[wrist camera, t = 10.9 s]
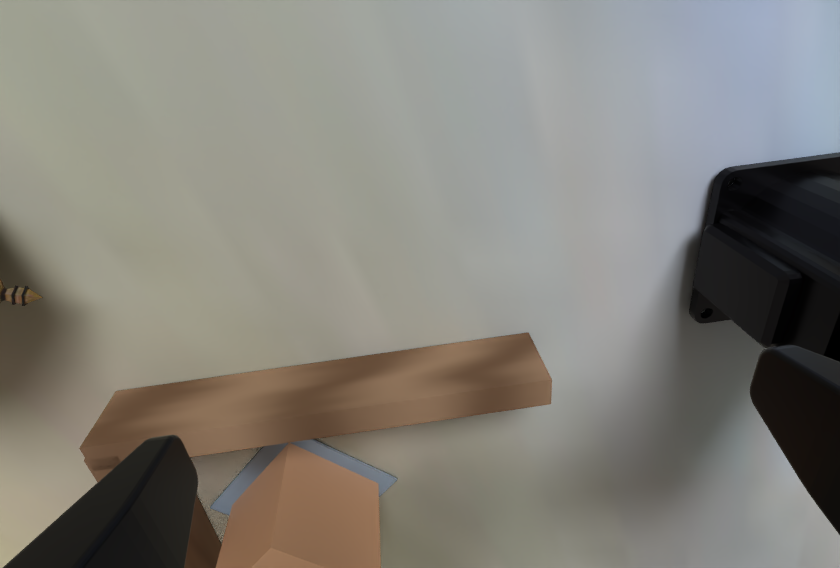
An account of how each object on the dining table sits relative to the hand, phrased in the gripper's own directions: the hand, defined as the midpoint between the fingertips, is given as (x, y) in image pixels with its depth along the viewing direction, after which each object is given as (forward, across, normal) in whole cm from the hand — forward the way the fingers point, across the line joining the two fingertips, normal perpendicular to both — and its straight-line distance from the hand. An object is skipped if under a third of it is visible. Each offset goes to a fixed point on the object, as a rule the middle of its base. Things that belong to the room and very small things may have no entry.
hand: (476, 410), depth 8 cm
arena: (+11, +4, +16) cm, 20 cm away
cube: (+11, +7, +14) cm, 19 cm away
